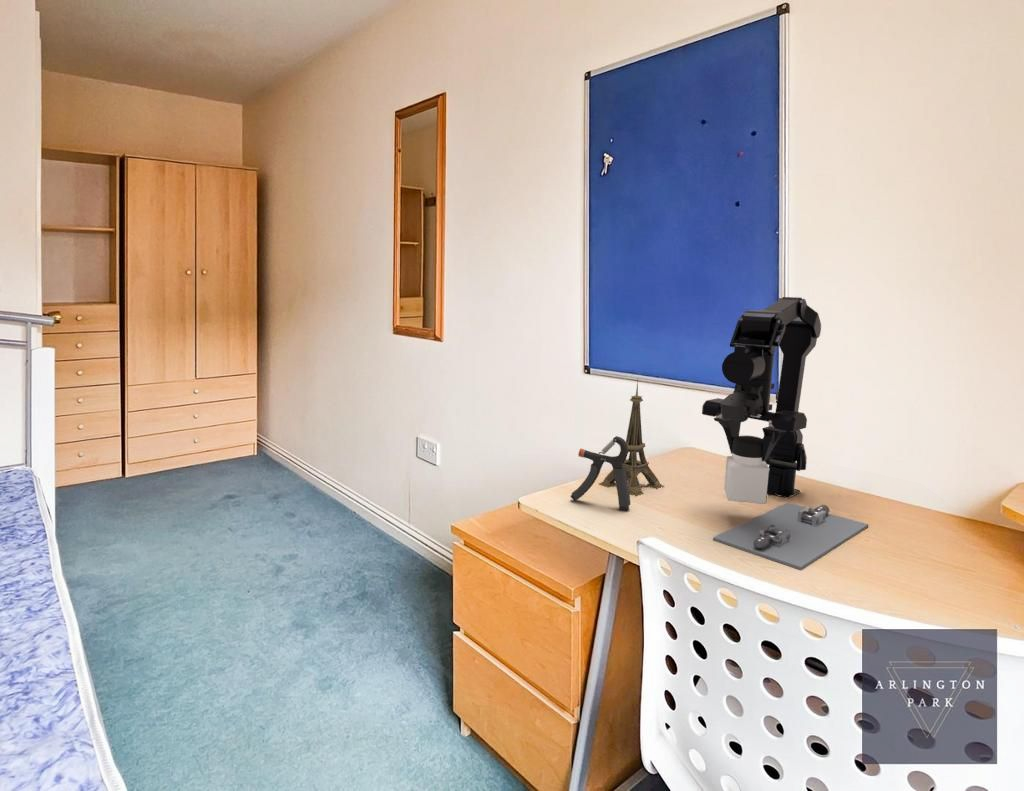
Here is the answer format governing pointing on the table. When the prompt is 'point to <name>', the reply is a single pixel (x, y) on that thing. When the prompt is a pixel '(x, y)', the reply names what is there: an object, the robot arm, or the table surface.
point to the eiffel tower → (634, 454)
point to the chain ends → (782, 537)
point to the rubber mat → (792, 535)
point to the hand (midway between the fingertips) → (748, 457)
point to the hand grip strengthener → (617, 469)
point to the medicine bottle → (746, 471)
